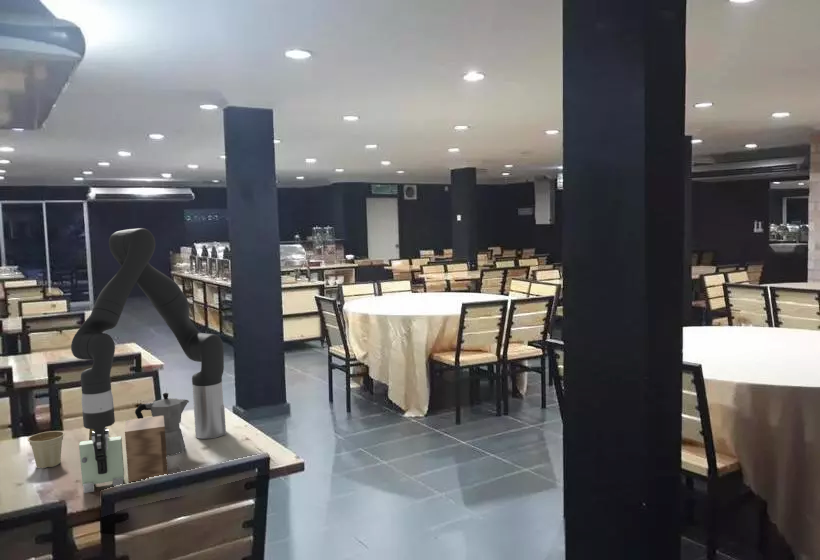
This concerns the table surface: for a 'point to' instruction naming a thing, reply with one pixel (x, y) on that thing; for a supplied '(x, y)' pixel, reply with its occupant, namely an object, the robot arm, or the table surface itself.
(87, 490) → the small rectangular blocks
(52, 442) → the flower pot
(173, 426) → the coffeepot
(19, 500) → the table surface
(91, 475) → the door panel
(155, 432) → the brown wooden box
